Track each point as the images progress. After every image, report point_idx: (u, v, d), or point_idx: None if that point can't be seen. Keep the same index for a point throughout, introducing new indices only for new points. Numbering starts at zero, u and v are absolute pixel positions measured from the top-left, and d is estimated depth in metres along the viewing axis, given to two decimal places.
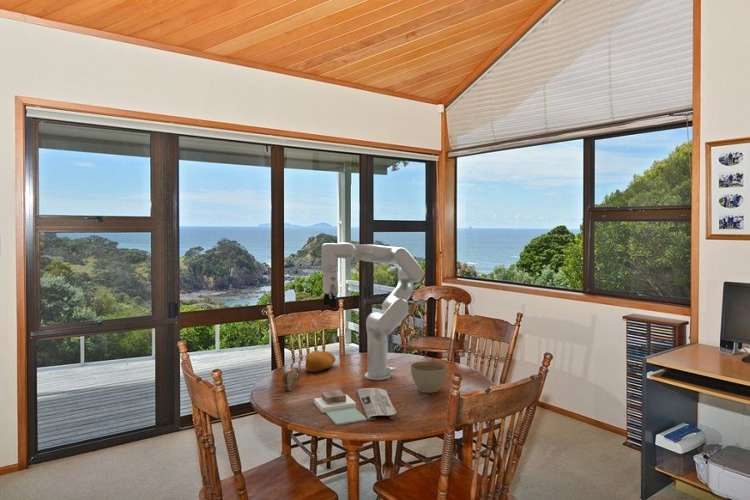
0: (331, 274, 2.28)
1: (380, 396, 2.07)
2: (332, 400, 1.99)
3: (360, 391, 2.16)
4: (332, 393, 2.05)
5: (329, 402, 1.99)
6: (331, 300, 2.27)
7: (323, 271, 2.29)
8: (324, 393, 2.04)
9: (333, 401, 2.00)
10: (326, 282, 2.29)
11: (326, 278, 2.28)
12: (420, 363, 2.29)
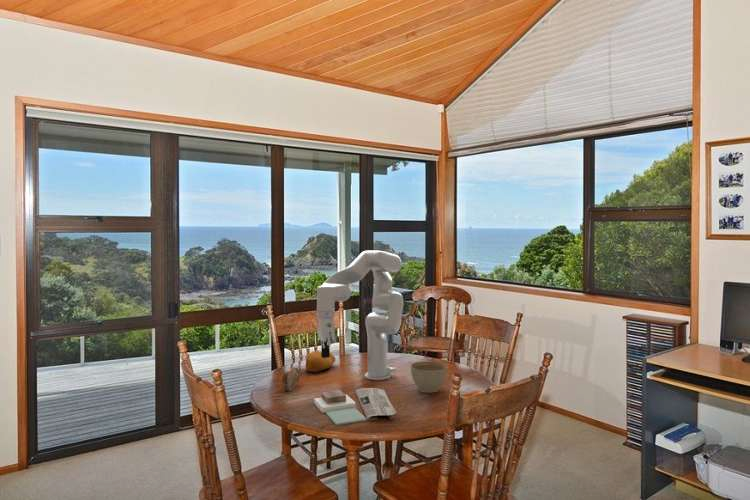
0: (327, 320, 2.08)
1: (379, 396, 2.07)
2: (332, 400, 1.99)
3: (358, 391, 2.16)
4: (332, 393, 2.05)
5: (329, 402, 1.99)
6: (324, 350, 2.11)
7: (318, 317, 2.09)
8: (324, 393, 2.04)
9: (333, 401, 2.00)
10: (322, 329, 2.09)
11: (322, 324, 2.08)
12: (420, 363, 2.29)
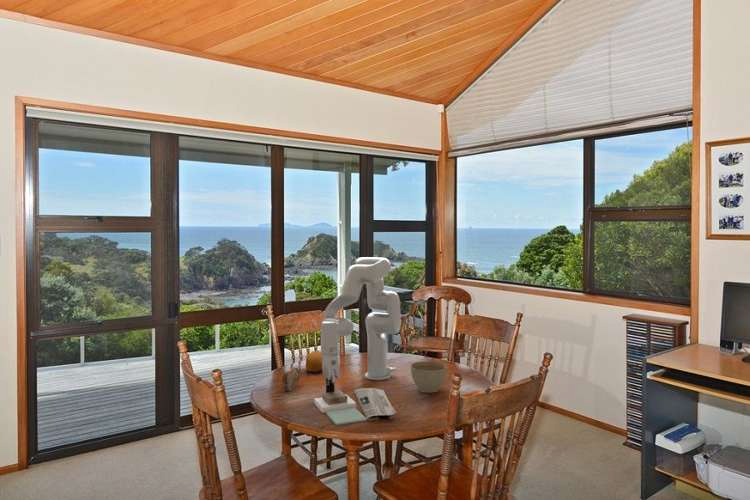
0: (332, 357, 2.03)
1: (378, 396, 2.07)
2: (333, 401, 1.98)
3: (358, 391, 2.16)
4: (334, 394, 2.03)
5: (330, 403, 1.98)
6: (329, 387, 2.06)
7: (323, 353, 2.05)
8: (325, 394, 2.03)
9: (334, 402, 1.98)
10: (326, 366, 2.04)
11: (326, 361, 2.04)
12: (420, 363, 2.29)
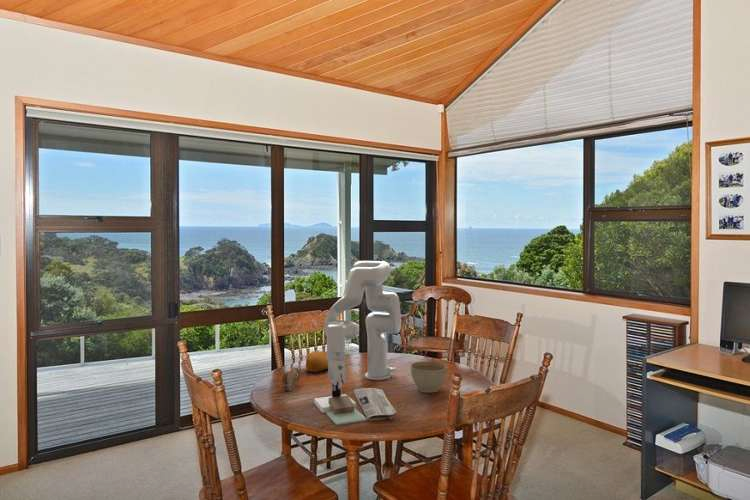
0: (338, 362, 1.95)
1: (377, 396, 2.07)
2: (339, 411, 1.91)
3: (357, 391, 2.16)
4: (340, 400, 1.96)
5: (336, 413, 1.91)
6: (335, 392, 1.99)
7: (328, 358, 1.97)
8: (331, 400, 1.96)
9: (341, 412, 1.91)
10: (332, 371, 1.97)
11: (333, 366, 1.96)
12: (420, 363, 2.29)
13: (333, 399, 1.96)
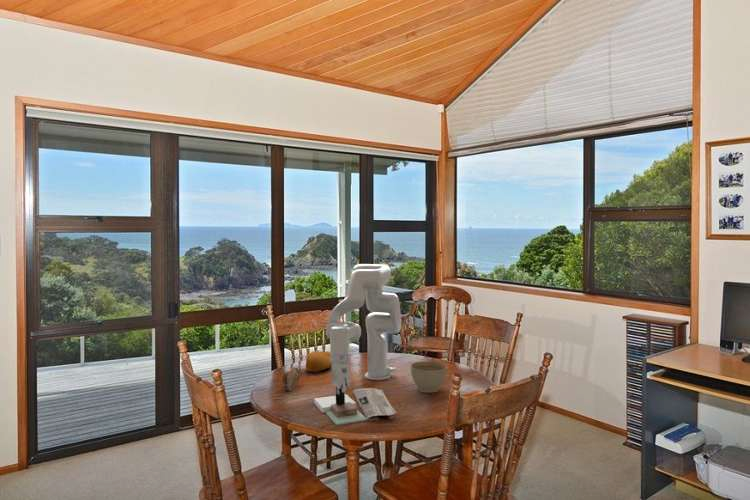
0: (342, 365, 1.91)
1: (377, 396, 2.07)
2: (342, 414, 1.88)
3: (356, 391, 2.16)
4: (343, 405, 1.93)
5: (339, 416, 1.88)
6: (339, 396, 1.94)
7: (332, 361, 1.93)
8: (333, 405, 1.93)
9: (343, 414, 1.88)
10: (336, 374, 1.92)
11: (336, 369, 1.92)
12: (420, 363, 2.29)
13: (335, 405, 1.94)
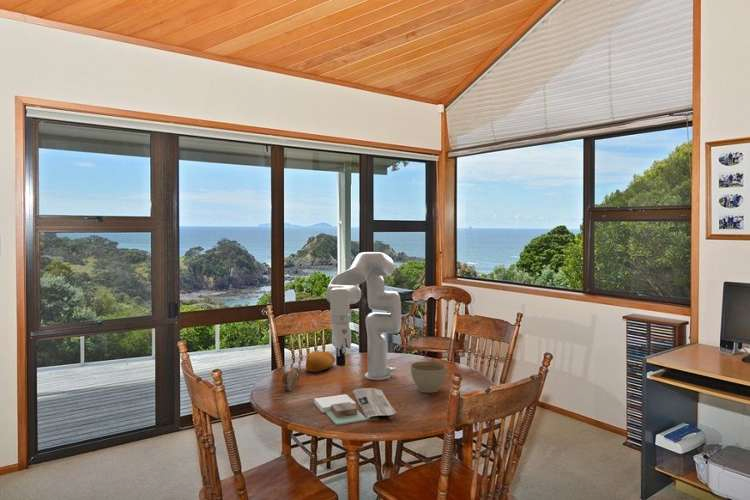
0: (342, 326, 1.90)
1: (377, 396, 2.07)
2: (342, 414, 1.88)
3: (356, 391, 2.15)
4: (343, 405, 1.93)
5: (339, 416, 1.88)
6: (339, 357, 1.94)
7: (332, 322, 1.92)
8: (333, 405, 1.93)
9: (343, 414, 1.88)
10: (336, 335, 1.91)
11: (337, 330, 1.91)
12: (420, 363, 2.29)
13: (335, 405, 1.94)
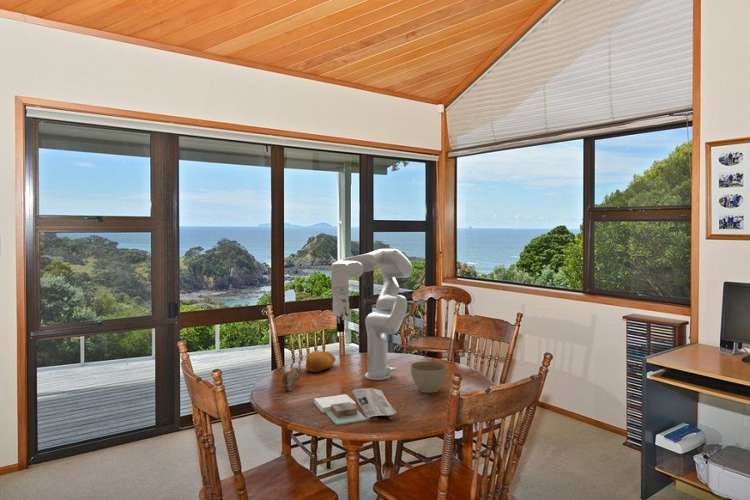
0: (342, 296, 2.14)
1: (377, 396, 2.07)
2: (342, 414, 1.88)
3: (355, 392, 2.15)
4: (343, 405, 1.93)
5: (339, 416, 1.88)
6: (339, 324, 2.18)
7: (333, 292, 2.16)
8: (333, 405, 1.93)
9: (343, 414, 1.88)
10: (337, 304, 2.16)
11: (337, 299, 2.15)
12: (420, 363, 2.29)
13: (335, 405, 1.94)
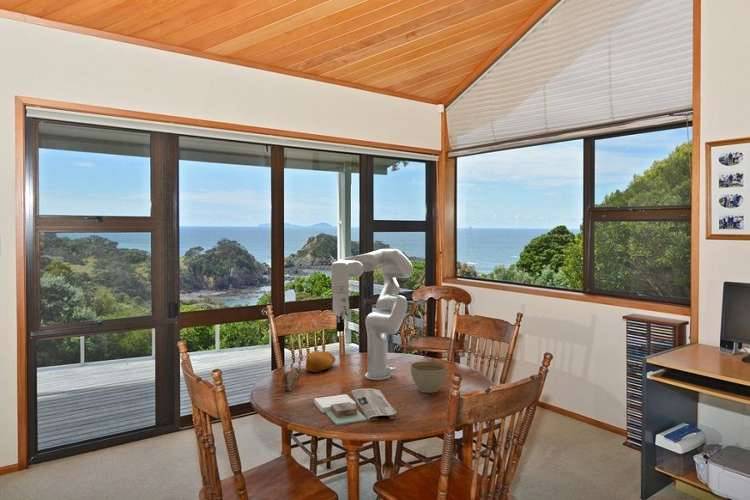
0: (342, 295, 2.15)
1: (376, 396, 2.07)
2: (342, 414, 1.88)
3: (354, 392, 2.15)
4: (343, 405, 1.93)
5: (339, 416, 1.88)
6: (339, 324, 2.18)
7: (333, 292, 2.16)
8: (333, 405, 1.93)
9: (343, 414, 1.88)
10: (337, 303, 2.16)
11: (337, 299, 2.15)
12: (420, 363, 2.29)
13: (335, 405, 1.94)
